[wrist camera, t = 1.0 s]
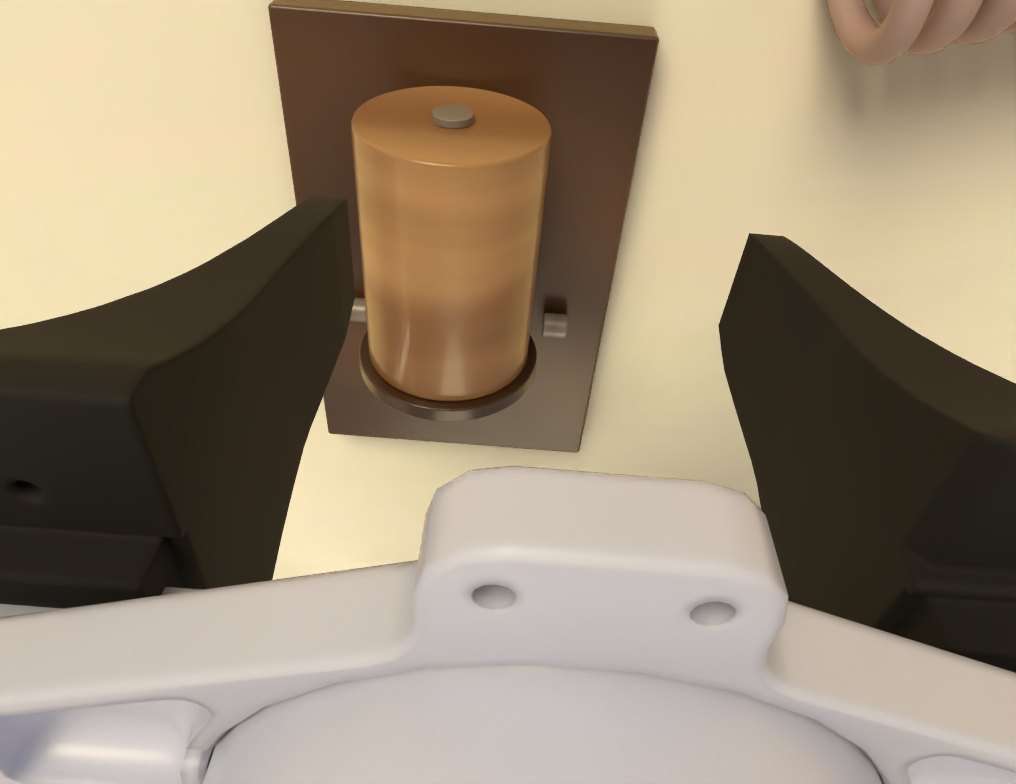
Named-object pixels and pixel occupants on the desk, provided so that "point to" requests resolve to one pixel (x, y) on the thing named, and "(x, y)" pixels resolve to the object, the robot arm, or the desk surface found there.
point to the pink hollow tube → (917, 25)
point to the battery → (449, 247)
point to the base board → (569, 189)
